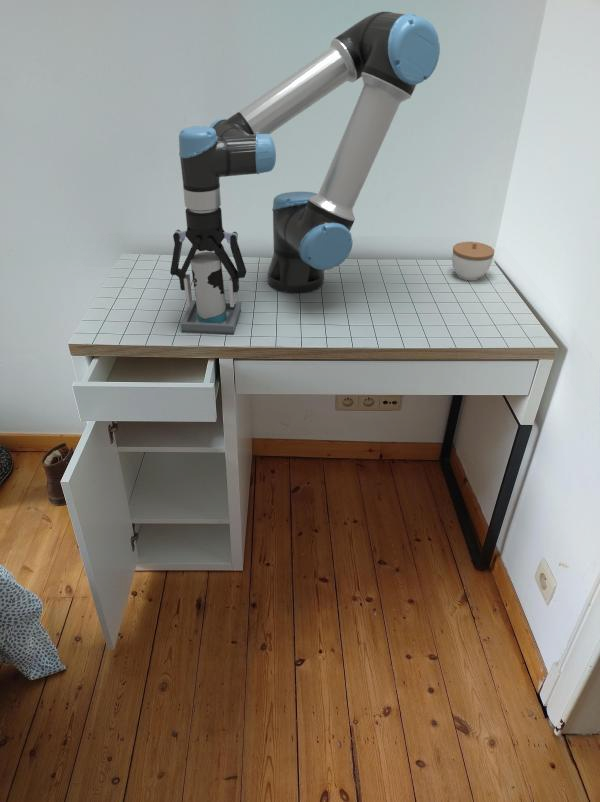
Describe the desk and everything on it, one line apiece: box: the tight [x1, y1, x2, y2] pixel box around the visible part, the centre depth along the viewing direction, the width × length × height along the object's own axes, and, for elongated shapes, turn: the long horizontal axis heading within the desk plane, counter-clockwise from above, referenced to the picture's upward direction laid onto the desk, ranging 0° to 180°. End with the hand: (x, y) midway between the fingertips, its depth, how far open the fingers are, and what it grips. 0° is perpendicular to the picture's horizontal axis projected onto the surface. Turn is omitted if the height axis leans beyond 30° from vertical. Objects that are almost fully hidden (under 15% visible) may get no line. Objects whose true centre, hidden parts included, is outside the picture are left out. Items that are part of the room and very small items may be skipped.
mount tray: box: [180, 299, 242, 336], centre depth 143 cm, size 12×12×2 cm
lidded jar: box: [451, 241, 495, 281], centre depth 163 cm, size 11×11×9 cm
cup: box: [190, 251, 227, 323], centre depth 139 cm, size 7×7×15 cm
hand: (211, 303), depth 141 cm, fingers open, 9 cm apart
